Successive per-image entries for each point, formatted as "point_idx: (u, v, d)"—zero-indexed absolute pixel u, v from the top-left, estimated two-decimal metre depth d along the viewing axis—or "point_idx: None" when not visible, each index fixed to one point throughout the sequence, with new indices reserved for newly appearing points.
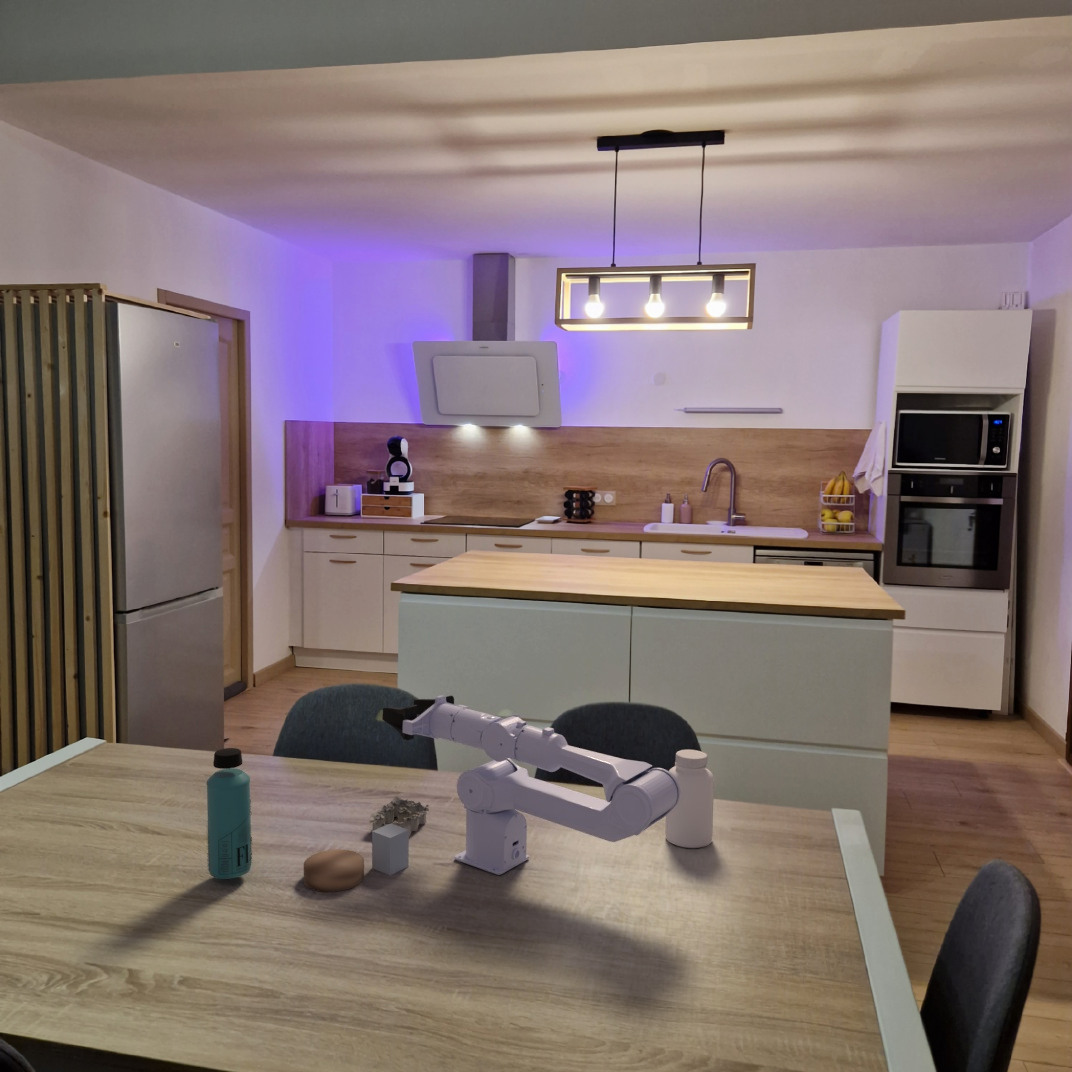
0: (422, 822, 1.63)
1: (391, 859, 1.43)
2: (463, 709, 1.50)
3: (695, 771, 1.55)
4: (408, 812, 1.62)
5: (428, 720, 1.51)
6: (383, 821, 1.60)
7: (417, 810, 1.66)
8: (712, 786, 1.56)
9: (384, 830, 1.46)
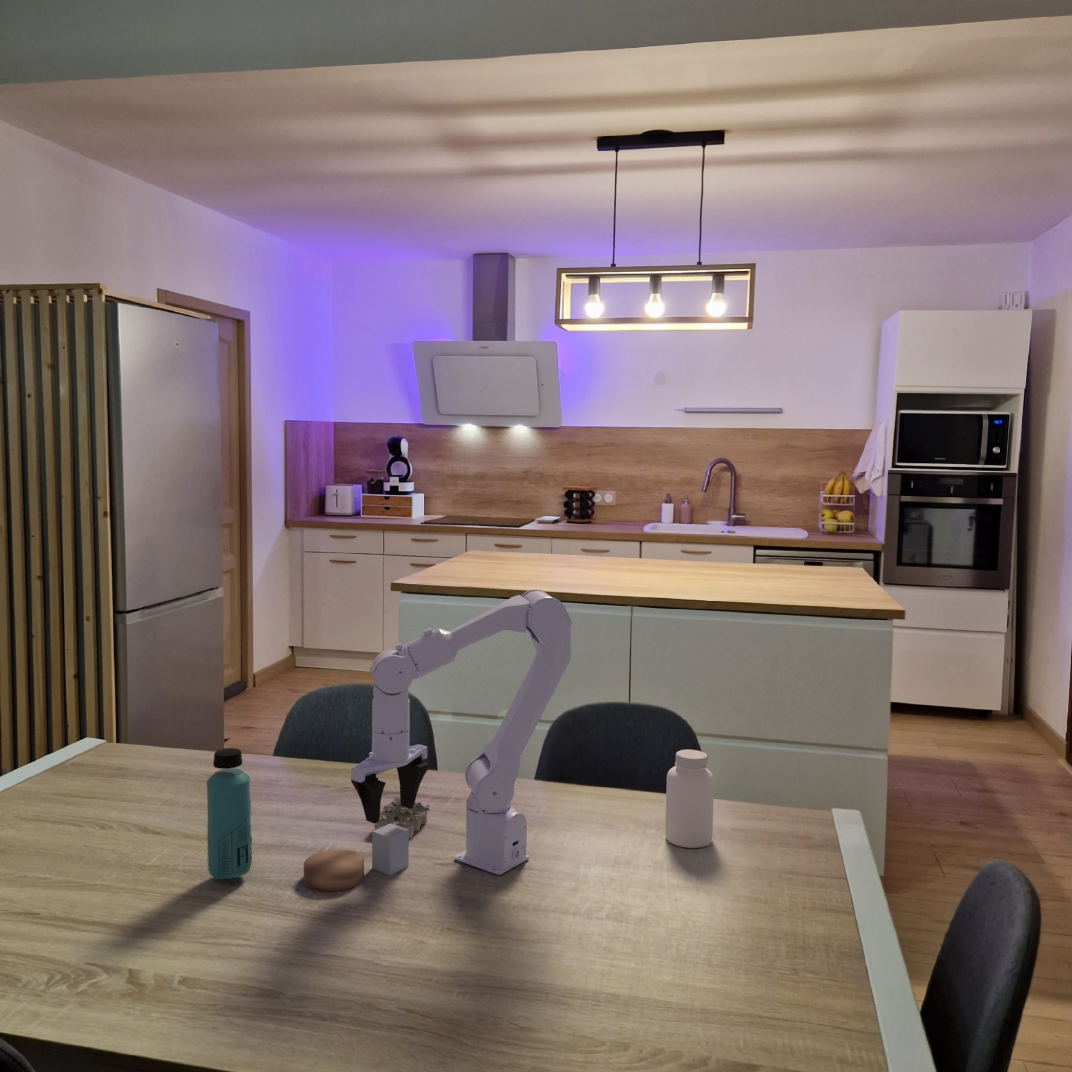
0: (423, 822, 1.63)
1: (391, 859, 1.43)
2: (372, 727, 1.43)
3: (695, 771, 1.55)
4: (409, 812, 1.62)
5: (374, 761, 1.42)
6: (385, 822, 1.60)
7: (418, 810, 1.66)
8: (712, 786, 1.56)
9: (384, 830, 1.46)
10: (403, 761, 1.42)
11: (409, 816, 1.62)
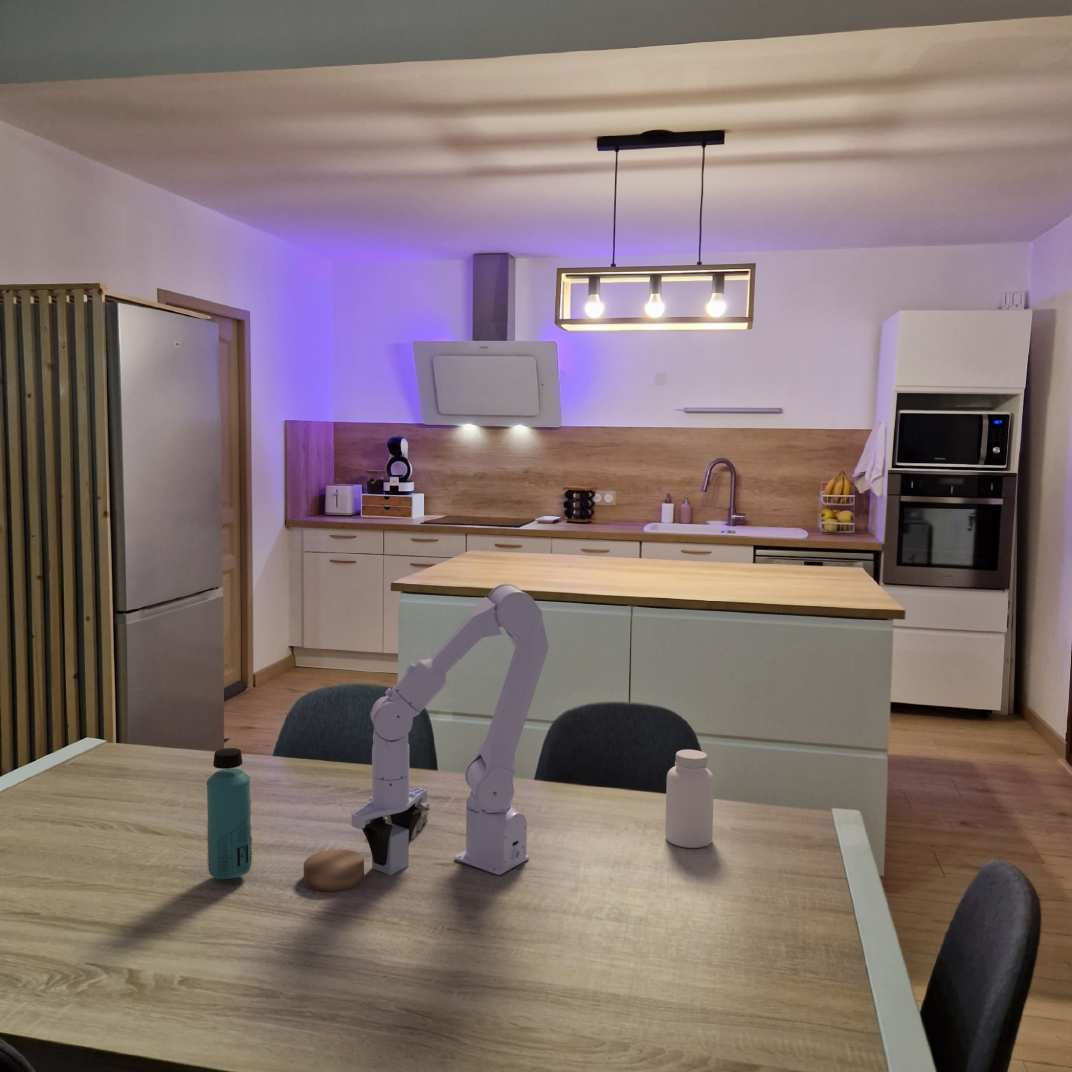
0: (424, 822, 1.63)
1: (391, 859, 1.43)
2: (372, 773, 1.44)
3: (695, 771, 1.55)
4: None
5: (374, 807, 1.43)
6: (386, 822, 1.60)
7: None
8: (712, 786, 1.56)
9: None
10: (403, 806, 1.43)
11: None
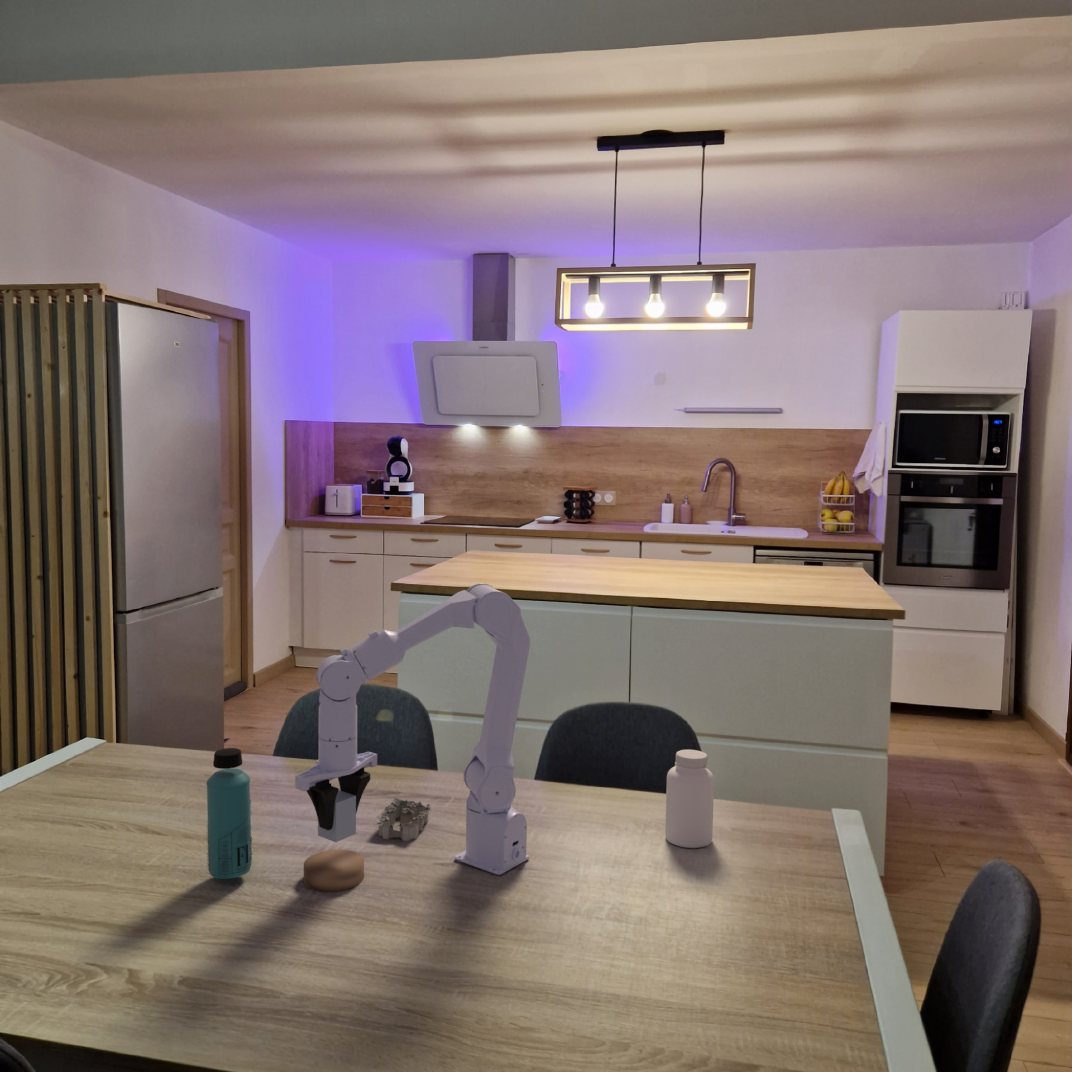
0: (425, 822, 1.63)
1: (337, 825, 1.39)
2: (318, 735, 1.39)
3: (695, 771, 1.55)
4: (412, 812, 1.62)
5: (319, 769, 1.39)
6: (388, 822, 1.60)
7: (418, 810, 1.66)
8: (712, 786, 1.56)
9: None
10: (350, 769, 1.39)
11: (411, 816, 1.62)
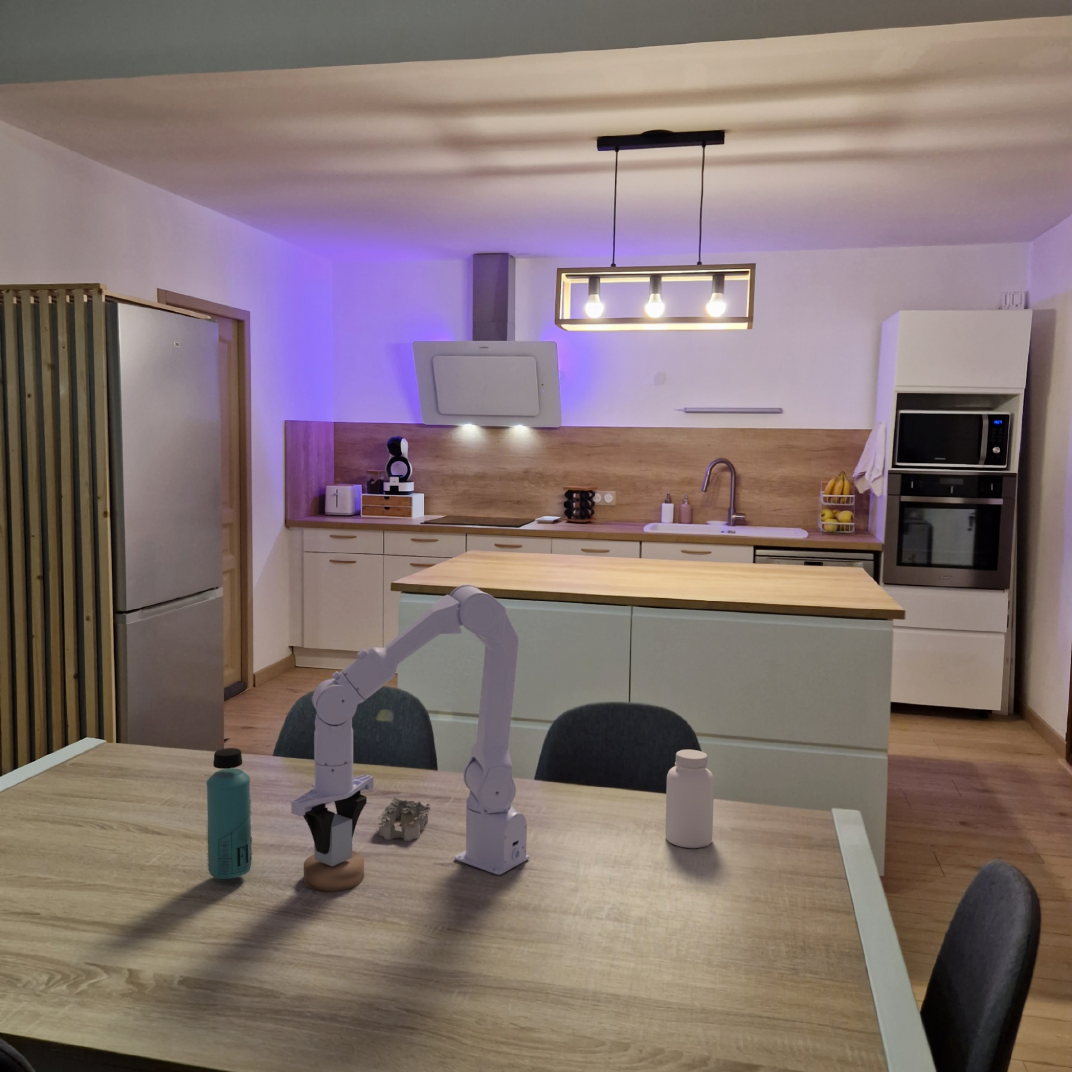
0: (425, 821, 1.64)
1: (333, 849, 1.39)
2: (314, 759, 1.39)
3: (695, 771, 1.55)
4: (412, 812, 1.62)
5: (316, 794, 1.39)
6: (389, 823, 1.59)
7: (418, 810, 1.66)
8: (712, 786, 1.56)
9: None
10: (346, 793, 1.39)
11: (412, 816, 1.62)
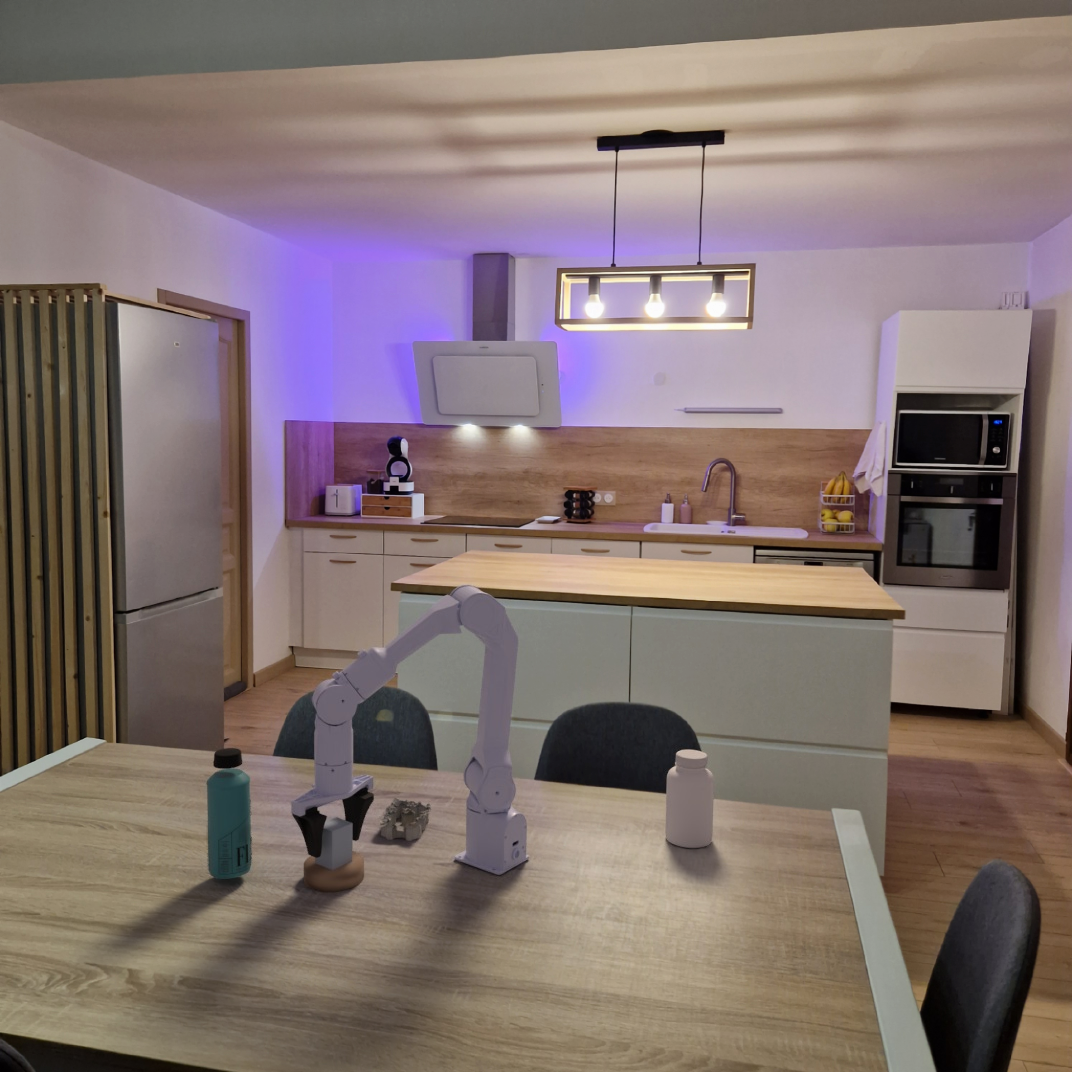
0: (426, 821, 1.64)
1: (333, 853, 1.39)
2: (314, 759, 1.39)
3: (695, 771, 1.55)
4: (413, 812, 1.62)
5: (316, 794, 1.39)
6: (390, 823, 1.59)
7: (418, 810, 1.66)
8: (712, 786, 1.56)
9: (327, 823, 1.41)
10: (346, 793, 1.39)
11: (413, 816, 1.62)
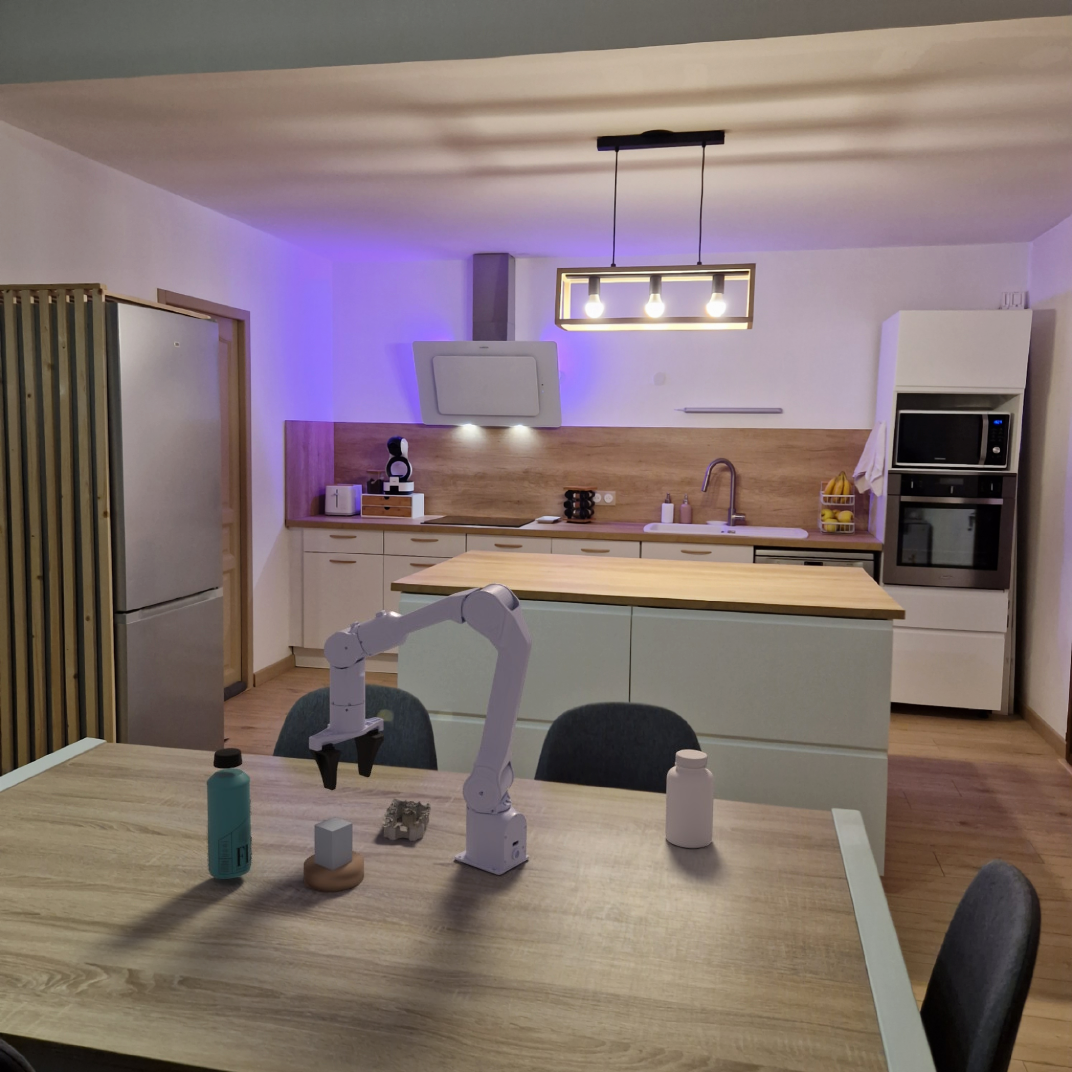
0: (426, 821, 1.64)
1: (333, 853, 1.39)
2: None
3: (695, 771, 1.55)
4: (414, 812, 1.62)
5: (331, 732, 1.51)
6: (392, 824, 1.59)
7: (418, 810, 1.66)
8: (712, 786, 1.56)
9: (327, 823, 1.41)
10: (359, 731, 1.51)
11: (414, 816, 1.62)
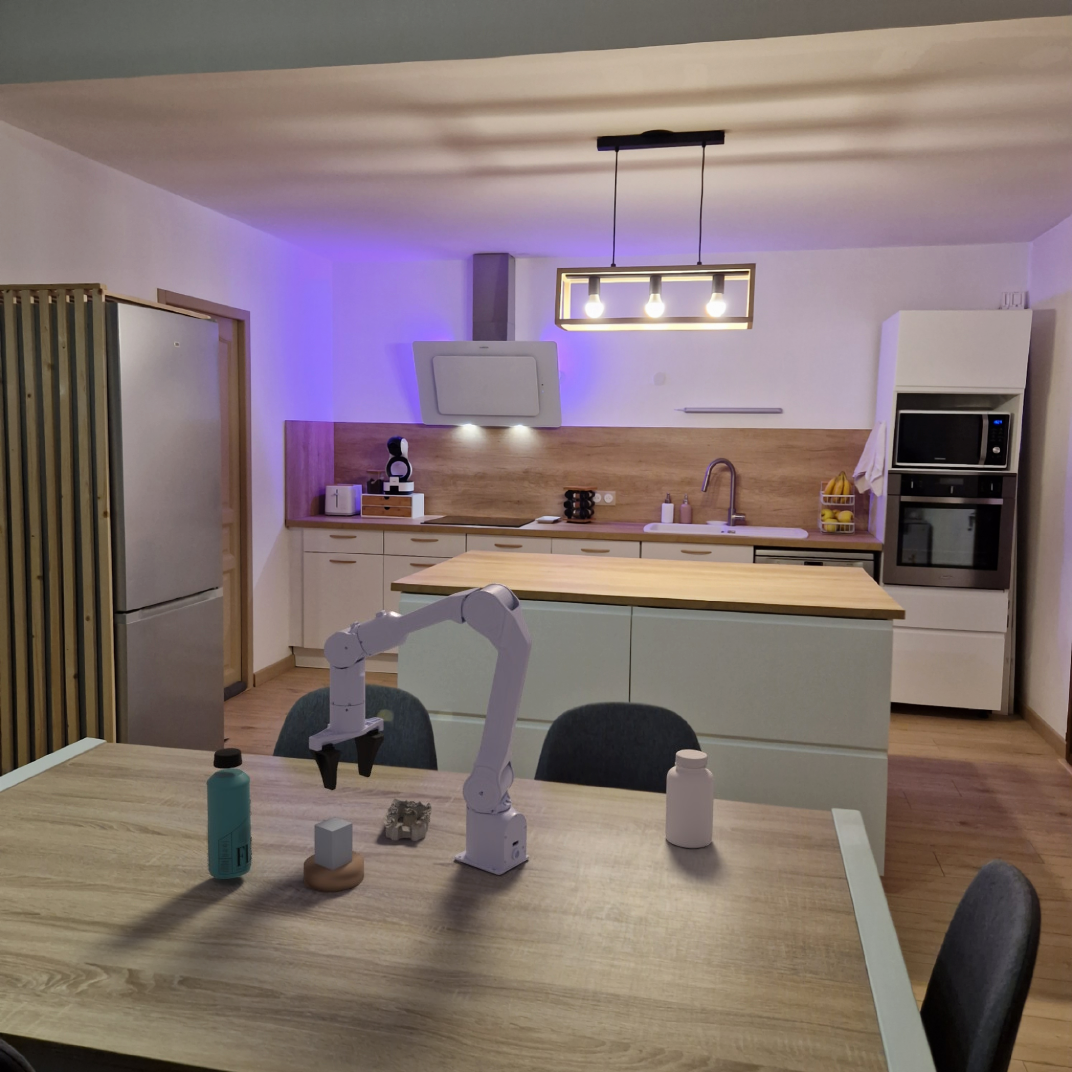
0: (427, 821, 1.64)
1: (333, 853, 1.39)
2: None
3: (695, 771, 1.55)
4: (415, 812, 1.62)
5: (331, 732, 1.51)
6: (394, 824, 1.59)
7: (418, 810, 1.66)
8: (712, 786, 1.56)
9: (327, 823, 1.41)
10: (359, 731, 1.51)
11: (415, 816, 1.62)
